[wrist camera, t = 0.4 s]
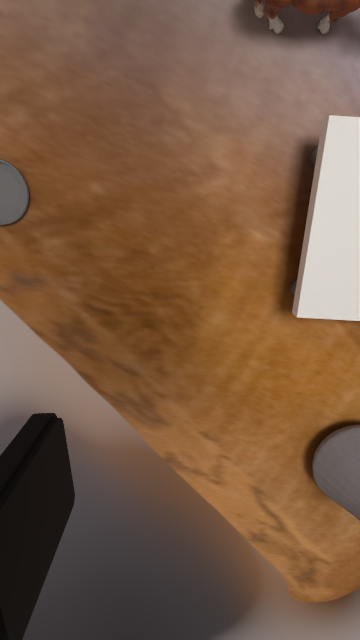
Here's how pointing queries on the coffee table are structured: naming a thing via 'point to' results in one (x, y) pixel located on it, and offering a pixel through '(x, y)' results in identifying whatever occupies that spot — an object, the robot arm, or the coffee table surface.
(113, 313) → the coffee table surface
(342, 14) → the bull figurine
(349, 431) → the coffee pot
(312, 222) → the display shelf
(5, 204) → the pocket watch
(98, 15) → the coffee table surface
